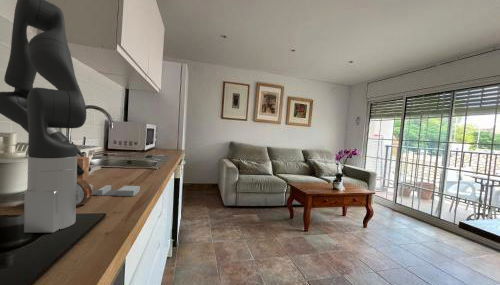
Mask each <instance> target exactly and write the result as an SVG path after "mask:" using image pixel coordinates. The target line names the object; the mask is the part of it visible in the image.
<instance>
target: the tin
mask: <svg viewBox="0 0 500 285" xmlns="http://www.w3.org/2000/svg"><path fill="white" fill-rule="evenodd" d="M90 185H91V184H90V183H89V182H88V181H86V180H83V179H80V178H77V183H76V207H79V206H82V205H85V204H87V203H88V202H89V201H90V200H91V199H92V196H93V195H92V189H91V186H90Z"/></svg>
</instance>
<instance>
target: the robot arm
mask: <svg viewBox="0 0 500 285" xmlns="http://www.w3.org/2000/svg"><path fill="white" fill-rule="evenodd" d="M65 22H66V21H65V15H64V12H63V11H62V9H61V8H60V7H59V6H57V5H56V4H53V3H51V2H49V1H47V0H17V1H16V4H15V9H14V15H13V22H12V23H13V24H12V30H11V40H10V41H11V42H10V53H9V59H8V62H7V67H6V70H5V74H4V77H3V78H4V80H3V81H4V82H5V84H7V85H8V86H10V87H12V88H14V90H13V91H0V115H2V116H4V117H5V118H7V119H9V120H10V121H12V122H13V123H15V124H18V125H19V126H20V127H21V128H22V129H23V130H24V131H25V132H26V133H28V135H27V136H28V141H27V143H28V145H27V146H28V147H27V148H28V149H27V181H26V182H27V189H26V190H25V191H24V202H23V204H24V210H23V212H24V213H23V214H24V215H23V233H56V232H58V231H60V230H62V229H66V228H68V227H71V226H72V225H74V224H75V223H76V219H77V218H76V215H77V213H76V212H77V206H76V183H77V175H79V176H80V175H82V174H83V173H84V172H85V171H84V170H83V169H82V168H81V167H80V166H79V165H78V164H77V157H85V155H84V153H82V152H81V150H80V148H78V145H76V144H75V143H72V142H70V139H69V138H68V137H67V136H66V135H65V134H64V133H63V132H61V131H60V129H78V128H81V127H83V126H84V124H85V123H86V120H87V106H86V102H85V99H84V96H83V94H82V91H81V88H80V86H79V84H78V81H77V77H76V74H75V70H74V68H75V67H74V64H73V58H72V55H71V50H70V48H69V44H68V40H67V35H66V26H65V25H66V23H65ZM28 27H32V28H34V29H37V30H40V31H42V32H40V33H38V34H36V35H33V37H32V38H30V40H28V34H27V33H28ZM37 74H39V75H40V76H41V77H42V79H44V80H46V81H47V82H49V83H50V85H52V86H53V87H54V88H56V89H53V88H46V87H37V86H36V87H34V86H33V85H34V83H35V80H36V76H37ZM91 171H92V168H91V167H90V166H89V173H90V172H91ZM59 229H60V230H59Z"/></svg>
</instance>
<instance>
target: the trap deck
mask: <svg viewBox="0 0 500 285" xmlns="http://www.w3.org/2000/svg"><path fill="white" fill-rule="evenodd" d="M89 185H90V186H91V189H92V196H101V197H103V196H105V197H107V196H109V197H113V196H114V197H134V196H136V195H137V194H138V193H139V192H140V189H141V186H140V185H124V186H122V187H121V188H119V189H112V185H111V184H110V185H109V184H107V185H105V186H103V187H101V188H99V189H93V187H94V185H93V184H89Z"/></svg>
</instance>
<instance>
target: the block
mask: <svg viewBox="0 0 500 285" xmlns="http://www.w3.org/2000/svg"><path fill="white" fill-rule="evenodd" d="M77 164H78V165H79V166H80V167H81V168H82V169H83V170H84V171H85V172H84V173H83V174H82V175H80V176H79V175H77V178H80V179H83V180H85V181H86V180H88V179H89V175H90V172H89V167H90V157H89V156H84V157H77Z"/></svg>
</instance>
